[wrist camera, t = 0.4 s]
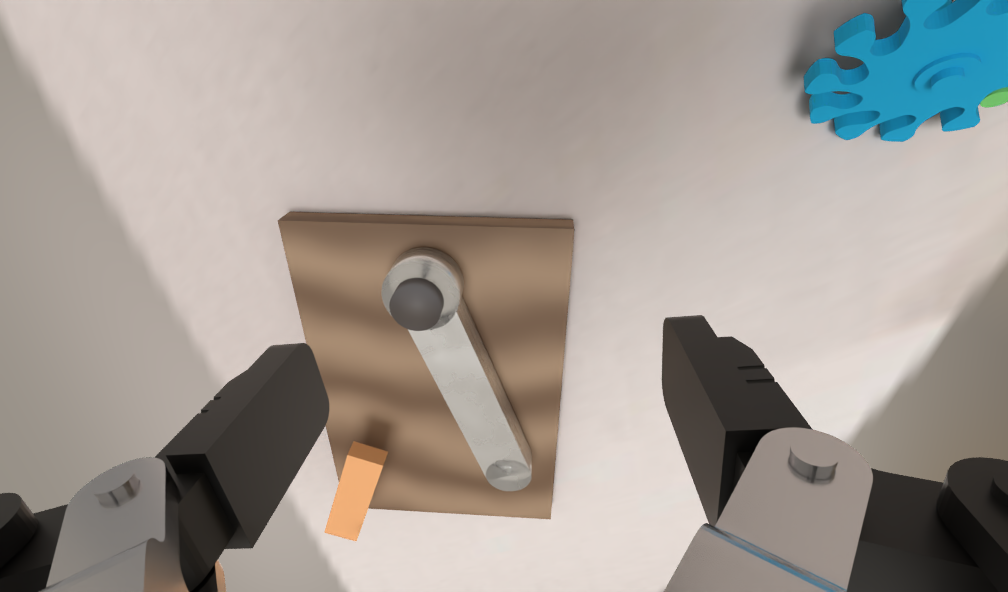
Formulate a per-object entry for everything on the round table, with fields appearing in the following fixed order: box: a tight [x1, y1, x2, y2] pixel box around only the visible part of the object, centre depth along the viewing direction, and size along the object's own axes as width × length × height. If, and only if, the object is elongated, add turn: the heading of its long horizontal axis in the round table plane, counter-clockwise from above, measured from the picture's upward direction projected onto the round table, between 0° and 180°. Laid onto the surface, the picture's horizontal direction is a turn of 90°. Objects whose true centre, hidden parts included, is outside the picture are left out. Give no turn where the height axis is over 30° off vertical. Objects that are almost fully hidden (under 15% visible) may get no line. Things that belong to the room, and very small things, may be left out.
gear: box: [804, 0, 1008, 142], centre depth 21 cm, size 11×6×10 cm
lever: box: [381, 247, 532, 491], centre depth 31 cm, size 19×4×2 cm, turn 20°
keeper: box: [324, 441, 388, 541], centre depth 35 cm, size 9×2×4 cm, turn 160°
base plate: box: [278, 212, 574, 519], centre depth 32 cm, size 25×17×5 cm
